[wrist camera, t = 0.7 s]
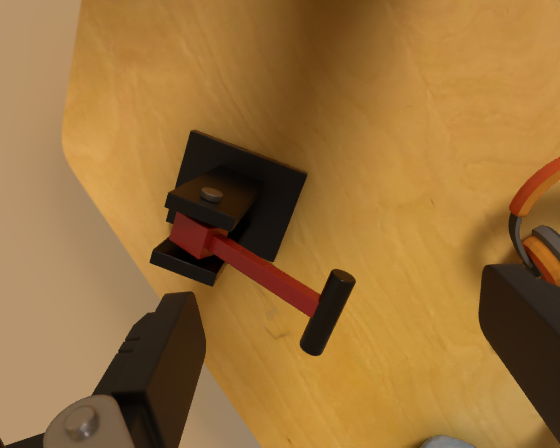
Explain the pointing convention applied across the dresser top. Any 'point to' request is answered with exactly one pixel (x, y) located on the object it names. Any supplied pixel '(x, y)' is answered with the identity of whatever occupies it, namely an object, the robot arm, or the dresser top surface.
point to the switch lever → (270, 278)
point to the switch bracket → (229, 203)
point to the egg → (445, 443)
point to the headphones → (544, 241)
